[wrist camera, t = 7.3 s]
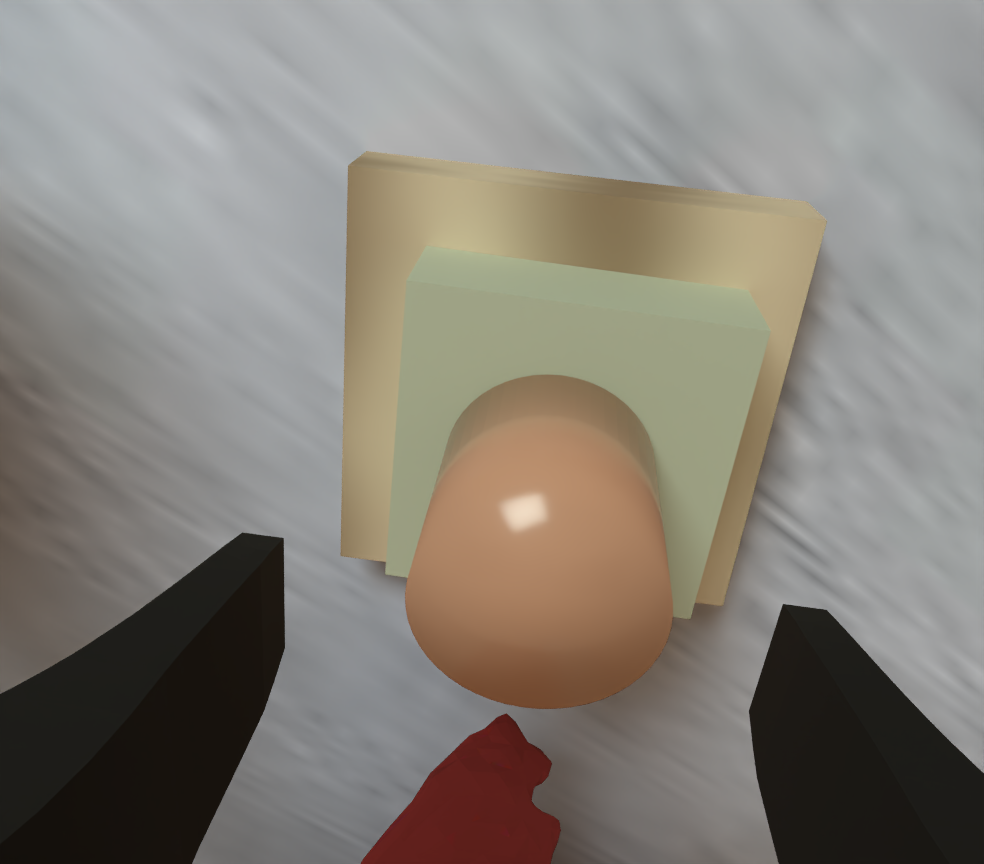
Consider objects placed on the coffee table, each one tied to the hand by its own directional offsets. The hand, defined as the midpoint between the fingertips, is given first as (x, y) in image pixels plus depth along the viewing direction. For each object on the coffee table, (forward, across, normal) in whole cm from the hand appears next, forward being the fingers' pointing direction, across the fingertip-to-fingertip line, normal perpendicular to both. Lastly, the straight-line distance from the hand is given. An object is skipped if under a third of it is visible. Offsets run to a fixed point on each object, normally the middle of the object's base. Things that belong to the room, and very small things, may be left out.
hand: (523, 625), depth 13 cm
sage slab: (+9, 0, +1) cm, 9 cm away
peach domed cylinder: (+6, 0, +1) cm, 6 cm away
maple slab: (+11, 0, +1) cm, 11 cm away
